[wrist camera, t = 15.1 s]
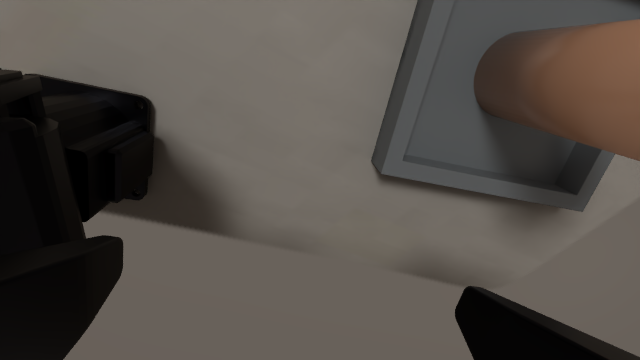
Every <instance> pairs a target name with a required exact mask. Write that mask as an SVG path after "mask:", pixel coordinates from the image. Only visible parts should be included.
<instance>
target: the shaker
mask: <svg viewBox="0 0 640 360" xmlns="http://www.w3.org/2000/svg"><path fill="white" fill-rule="evenodd" d="M474 93H475V97H476V100H477V102H478V104H479V105H480V107H481V108H482V109H483V110H484V111H485V112H486V113H488V114H489V115H492V116H494V117H497V118H500V119H504V120H507V121H510V122H514V123H517V124H520V125H523V126H527V127H530V128H533V129H536V130H540V131H543V132H546V133H550V134H553V135H556V136H559V137H563V138H566V139H569V140H572V141H576V142H579V143H582V144H585V145H589V146H592V147H595V148H599V149H602V150H605V151H608V152H612V153H615V154H618V155H621V156H625V157H628V158H631V159H634V160H638V161H640V19H637V20H627V21H617V22H607V23H597V24H587V25H577V26H568V27H558V28H548V29H538V30H528V31H519V32H514V33H510V34H508V35H505V36H503V37H502V38H500V39H498V40H497V41H496V42H494V43H493V44H492V45H491V46H490V47H489V48H488V49H487V51H486V52H485V53H484V55H483V56H482V58H481V59H480V61H479V63H478V66H477V68H476V71H475V76H474Z"/></svg>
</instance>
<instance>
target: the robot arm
mask: <svg viewBox="0 0 640 360" xmlns="http://www.w3.org/2000/svg"><path fill="white" fill-rule="evenodd" d="M137 101H140V102H142V104H143V108H142V109H141V108H139V107H138V106H137ZM150 109H151V105H150V102H149V100H148V99H147V98H146V97H144V96H142V95H137V94H132V93H127V92H122V91H117V90H112V89H107V88H102V87H97V86H93V85H88V84H83V83H78V82H73V81H68V80H63V79H58V78H53V77H48V76H43V75H38V74H25V75H22V72H21V71H14V70H1V68H0V360H63V359H64V358H65V357H66V355H67V354H68V353H69V352H70V350H71V349H72V348H73V347H74V345H75V344H76V343H77V342H78V340H79V339H80V338H81V336H82V335H83V334H84V332H85V331H86V330H87V329H88V327H89V326H90V324H91V323H92V321H93V320H94V318H95V316H96V315H97V313H98V312H99V310H100V308H101V307H102V305H103V304H104V302H105V300H106V299H107V297H108V296H109V294H110V292H111V291H112V289H113V288H114V286H115V284H116V283H117V281H118V280H119V278H120V276H121V273H122V269H123V241H122V239H121V238H119V237H113V236H103V235H102V236H97V237H92V238H87V239H86V236H85V232H84V228H83V224H82V222H86V221H88V220H89V219H90V218H92V217H93V216H94V215H95V214H97V213H98V212H99V211H100V210H102V209H103V208H104V207H105V206H106V205H108V204H109V203H110V202H112V203H118V202H120V201H121V200H122V199H124V198H125V199H132V200H141V199H142V198H143V197H144V196H145V195H146V194H147V184H148V177H149V176H150V175H152V168H153V145H154V136H153V135H152V133H151V132H150ZM135 189H137V190H139V191H140V194H137V193H136V192H135ZM455 317H456V321H457V323H458V325H459V327H460V329H461V332H462V334H463V336H464V338H465V341H466V343H467V345H468V347H469V350H470V352H471V354H472V356H473V359H474V360H640V357H638V356H636V355H634V354H631V353H629V352H627V351H624V350H622V349H620V348H618V347H615V346H613V345H611V344H609V343H606V342H604V341H602V340H599V339H597V338H595V337H593V336H590V335H588V334H586V333H584V332H581V331H579V330H577V329H575V328H572V327H570V326H568V325H565V324H563V323H561V322H559V321H556V320H554V319H552V318H550V317H547V316H545V315H543V314H540V313H538V312H536V311H534V310H531V309H529V308H527V307H525V306H522V305H520V304H518V303H516V302H513V301H511V300H509V299H506V298H504V297H502V296H499V295H497V294H495V293H493V292H491V291H488V290H486V289H484V288H481V287H474V286H468V287H466V288H465V289H464V291H463V293H462V296H461V298H460V300H459V302H458V304H457V306H456V309H455Z"/></svg>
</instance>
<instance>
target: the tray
mask: <svg viewBox="0 0 640 360" xmlns="http://www.w3.org/2000/svg"><path fill="white" fill-rule="evenodd" d="M637 19H640V0H418V2H417V5H416V9H415V12H414V15H413V19H412V22H411V26H410V29H409V33H408V36H407V40H406V43H405V46H404V50H403V53H402V57H401V60H400V64H399V67H398V70H397V74H396V77H395V81H394V84H393V88H392V91H391V94H390V98H389V101H388V105H387V108H386V112H385V115H384V119H383V122H382V125H381V129H380V132H379V136H378V139H377V143H376V146H375V149H374V153H373V156H372V160H371V161H372V162H373V164H374V165H375V166H376V168H377V169H378V170H379V172H380V173H381V174H385V175H390V176H395V177H400V178H406V179H411V180H416V181H422V182H427V183H432V184H438V185H443V186H448V187H454V188H459V189H464V190H469V191H475V192H480V193H485V194H491V195H496V196H501V197H507V198H512V199H517V200H523V201H528V202H533V203H539V204H544V205H549V206H554V207H560V208H565V209H570V210H576V211H581V212H583V210H584V208H585V207H586V205H587V203H588V201H589V200H590V198H591V196H592V194H593V192H594V191H595V189H596V187H597V185H598V183H599V182H600V180H601V178H602V176H603V175H604V173H605V171H606V169H607V167H608V166H609V164H610V162H611V160H612V159H613V157H614V155H615V153H612V152H608V151H605V150H602V149H599V148H595V147H592V146H589V145H585V144H582V143H579V142H576V141H572V140H569V139H566V138H563V137H559V136H556V135H553V134H550V133H546V132H543V131H540V130H536V129H533V128H530V127H527V126H523V125H520V124H517V123H514V122H510V121H507V120H504V119H500V118H497V117H494V116H492V115H489V114H488V113H486V112H485V111H484V110H483V109H482V108H481V107H480V105H479V104H478V102H477V100H476V97H475V93H474V76H475V71H476V68H477V66H478V63H479V61H480V59H481V58H482V56H483V55H484V53H485V52H486V51H487V49H488V48H489V47H490V46H491V45H492V44H493V43H494V42H496V41H497V40H498V39H500V38H502V37H503V36H505V35H508V34H510V33H514V32H519V31H528V30H538V29H548V28H558V27H568V26H577V25H587V24H597V23H607V22H617V21H627V20H637Z"/></svg>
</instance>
